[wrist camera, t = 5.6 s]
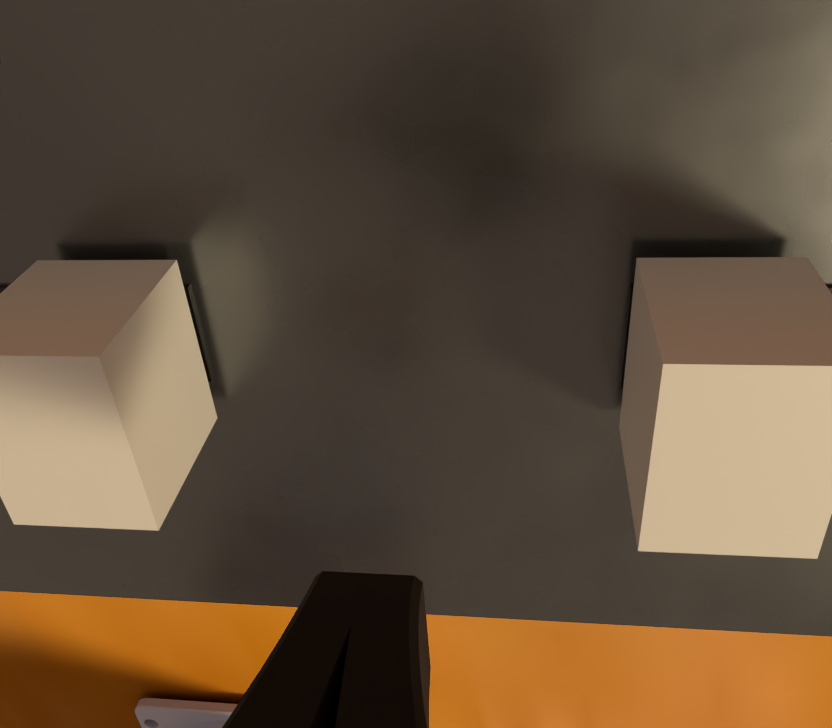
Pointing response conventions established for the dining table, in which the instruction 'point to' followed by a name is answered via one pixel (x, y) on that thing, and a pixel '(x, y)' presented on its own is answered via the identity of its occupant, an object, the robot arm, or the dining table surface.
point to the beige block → (729, 406)
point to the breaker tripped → (99, 393)
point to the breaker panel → (416, 277)
